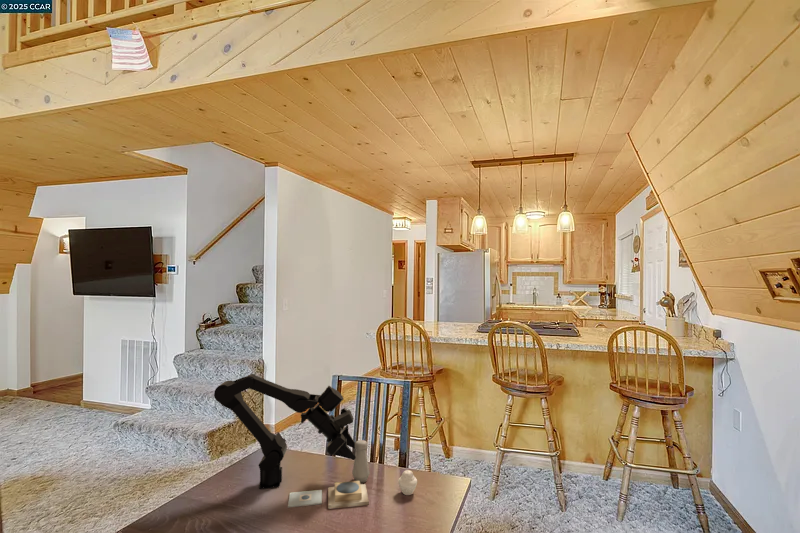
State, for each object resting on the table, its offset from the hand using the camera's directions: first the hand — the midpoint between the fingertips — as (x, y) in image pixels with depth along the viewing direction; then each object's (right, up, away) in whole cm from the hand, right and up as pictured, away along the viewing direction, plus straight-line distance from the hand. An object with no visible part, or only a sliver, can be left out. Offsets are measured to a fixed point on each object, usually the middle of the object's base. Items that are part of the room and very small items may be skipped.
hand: (355, 452), depth 142 cm
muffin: (+18, -9, -8) cm, 22 cm away
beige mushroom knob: (+2, -9, 0) cm, 10 cm away
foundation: (-1, -9, -11) cm, 14 cm away
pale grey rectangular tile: (-14, -9, -12) cm, 21 cm away
